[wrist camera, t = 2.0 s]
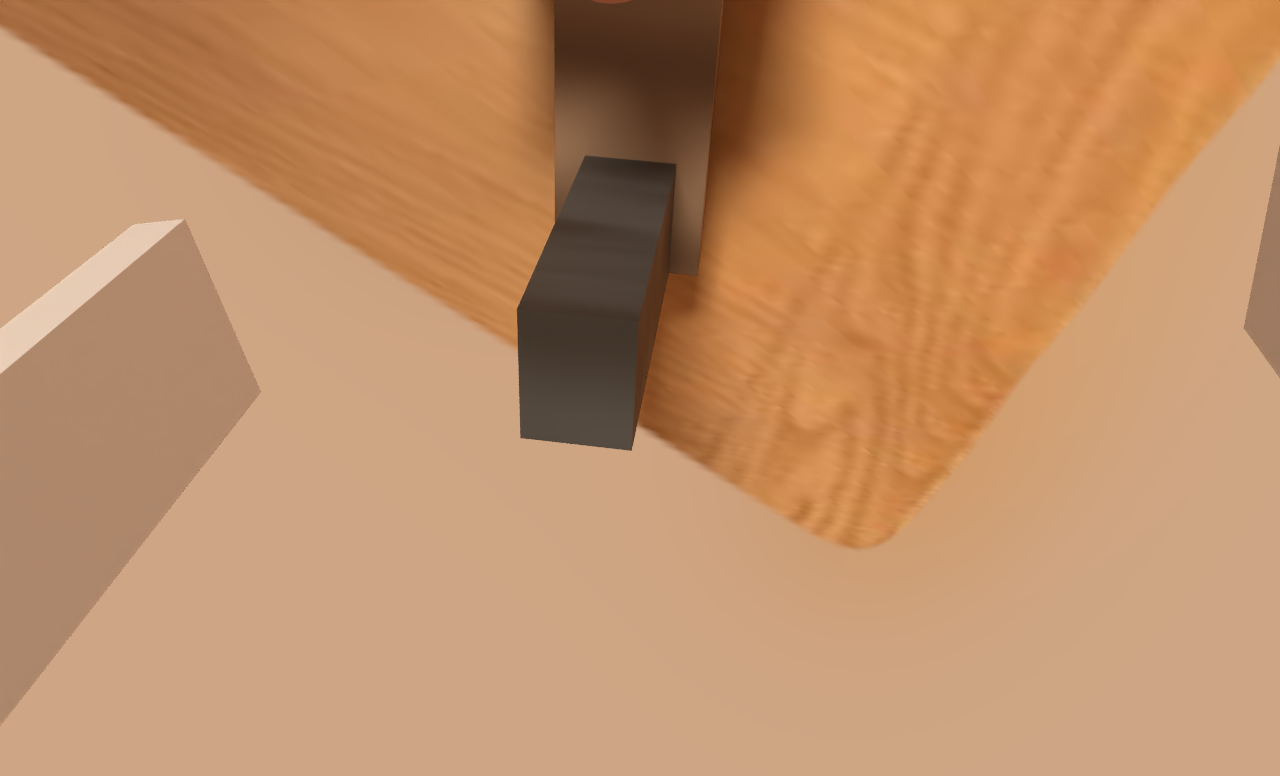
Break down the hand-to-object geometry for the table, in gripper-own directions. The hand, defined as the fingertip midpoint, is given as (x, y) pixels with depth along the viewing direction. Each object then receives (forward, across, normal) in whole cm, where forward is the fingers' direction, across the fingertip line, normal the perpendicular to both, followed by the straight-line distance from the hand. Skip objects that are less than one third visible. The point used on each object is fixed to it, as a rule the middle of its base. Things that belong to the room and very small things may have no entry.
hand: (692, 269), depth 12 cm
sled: (+21, -4, -3) cm, 22 cm away
